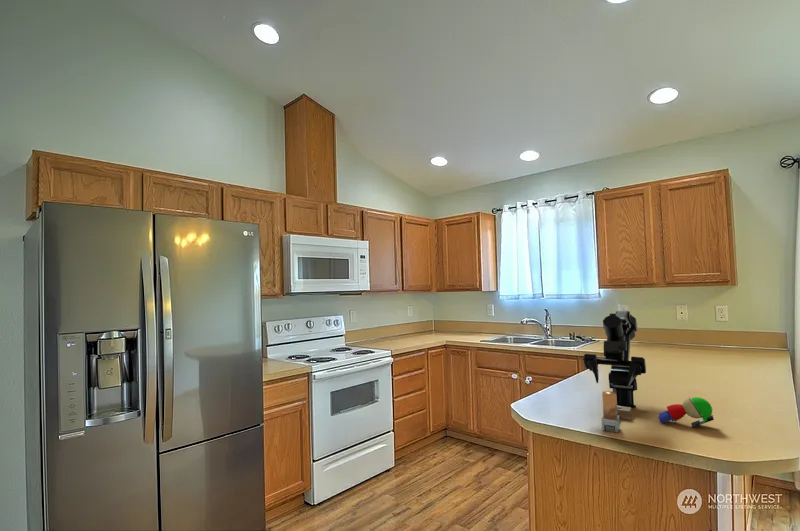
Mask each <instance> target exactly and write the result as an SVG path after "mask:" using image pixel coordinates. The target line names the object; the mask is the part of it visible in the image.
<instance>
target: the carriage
mask: <svg viewBox="0 0 800 531" xmlns="http://www.w3.org/2000/svg"><path fill="white" fill-rule="evenodd" d="M601 395H602V414H603V415H602V417H601V430H602V431H606V425H610V426H615V432H614V433H619V430H620V429H621V427H620V425H621V423H620V422H621V420H620V421H619V416H617V395H616V392H613V390H612V391H610V390H604V391H602V393H601Z"/></svg>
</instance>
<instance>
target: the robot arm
mask: <svg viewBox="0 0 800 531" xmlns="http://www.w3.org/2000/svg"><path fill="white" fill-rule="evenodd" d="M602 326H603V329H604V333H605V335H606V340H604V341H603V357H604V358H603V357H598V356H597V354H596V353H586V352H585V354H583V358H582V359H583V363H584V367H585V369H588V370H589V371H591V372H592V373H593V375H594V378H595V379H594V380H595V382H596V384H599V365H602V366H604V365H605V366H610V371H609V372H608V383H609V384H608V385H609V389H612V392H616V395H617V406H624V407H631V408H636V407H637V405H636V404H635V403H634V402H635V401H634V392H635V391H638V383H637V382H638V381H637V377H638V376H641V375H642V374H646V373H647V364H646V359H645V358H644V357H643V356H642V357H641V356H630V352H631V341H632V340H633V339H634V338H635V337H636V332H638V322H637V318H636V317H635V316H633V315H632V314H631V311H630V310H616V311H615V313H609V315H608V316H605V317H604V319H603V320H602Z"/></svg>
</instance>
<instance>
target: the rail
mask: <svg viewBox="0 0 800 531" xmlns="http://www.w3.org/2000/svg"><path fill="white" fill-rule="evenodd" d="M617 416H619V421H620V422H621V420H622V419H621V417H620V415H619V414H617ZM605 431H606V432H610V433H616V432H615V426H610V425H606V428H605Z"/></svg>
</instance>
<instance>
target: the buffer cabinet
mask: <svg viewBox="0 0 800 531" xmlns="http://www.w3.org/2000/svg"><path fill="white" fill-rule="evenodd" d="M617 414H619V415H620V417H621V419H620V420H626V419H628V420H627V421H631V419H632V417H633V415H632V407H624V406H617ZM631 416H632V417H631Z"/></svg>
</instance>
